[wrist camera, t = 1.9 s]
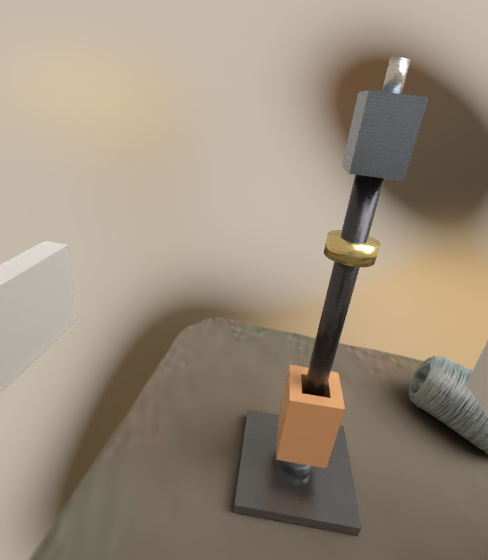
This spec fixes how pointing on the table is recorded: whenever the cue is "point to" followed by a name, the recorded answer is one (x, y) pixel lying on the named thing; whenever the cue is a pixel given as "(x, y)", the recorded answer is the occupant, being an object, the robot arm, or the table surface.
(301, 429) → the sleeve
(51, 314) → the robot arm
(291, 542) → the table surface
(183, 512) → the table surface
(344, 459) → the stand
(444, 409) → the spool
